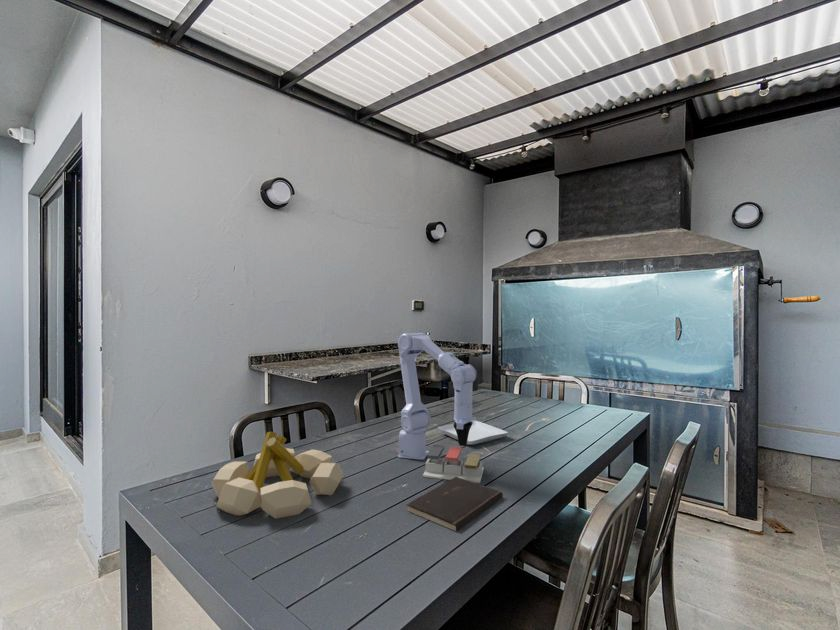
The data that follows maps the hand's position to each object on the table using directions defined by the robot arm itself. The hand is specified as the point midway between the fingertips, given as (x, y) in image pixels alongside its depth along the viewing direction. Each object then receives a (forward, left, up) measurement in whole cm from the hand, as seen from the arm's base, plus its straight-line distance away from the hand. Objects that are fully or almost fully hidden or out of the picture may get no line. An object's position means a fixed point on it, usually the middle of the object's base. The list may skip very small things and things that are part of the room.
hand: (462, 445), depth 134 cm
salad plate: (-2, +39, -10) cm, 40 cm away
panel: (-3, 0, -9) cm, 10 cm away
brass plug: (+3, 0, -8) cm, 9 cm away
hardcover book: (+1, -21, -10) cm, 23 cm away
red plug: (-3, 0, -7) cm, 7 cm away
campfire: (-50, -26, -10) cm, 57 cm away
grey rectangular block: (-9, 0, -7) cm, 11 cm away
